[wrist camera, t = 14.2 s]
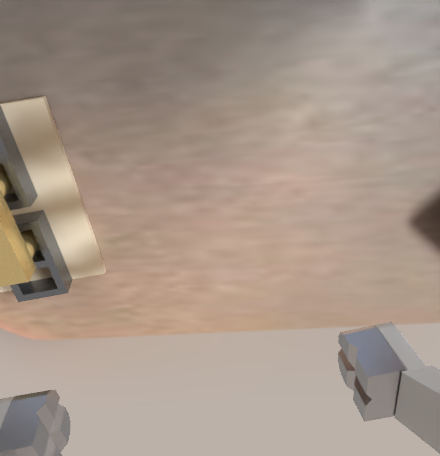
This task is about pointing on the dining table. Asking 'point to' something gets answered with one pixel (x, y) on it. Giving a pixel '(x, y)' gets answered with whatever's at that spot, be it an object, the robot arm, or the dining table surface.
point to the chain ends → (31, 223)
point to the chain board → (53, 187)
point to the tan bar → (14, 242)
